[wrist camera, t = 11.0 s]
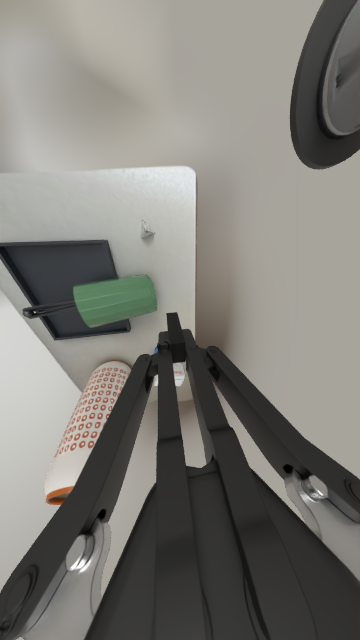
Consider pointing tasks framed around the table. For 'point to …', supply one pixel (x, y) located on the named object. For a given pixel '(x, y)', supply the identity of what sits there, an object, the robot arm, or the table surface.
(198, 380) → the robot arm
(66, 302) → the tongs
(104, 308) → the cup
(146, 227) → the tetrahedral die
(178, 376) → the ink box
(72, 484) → the vase
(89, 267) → the tray
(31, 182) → the table surface
